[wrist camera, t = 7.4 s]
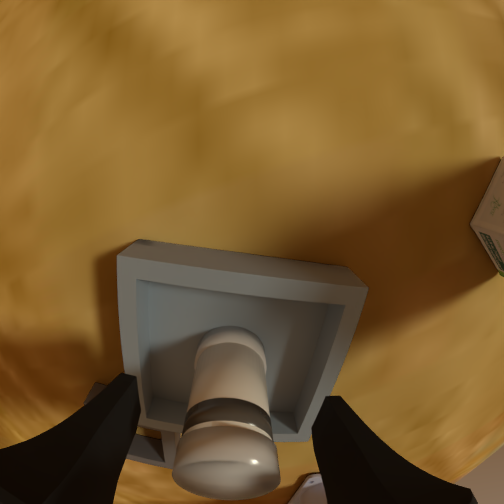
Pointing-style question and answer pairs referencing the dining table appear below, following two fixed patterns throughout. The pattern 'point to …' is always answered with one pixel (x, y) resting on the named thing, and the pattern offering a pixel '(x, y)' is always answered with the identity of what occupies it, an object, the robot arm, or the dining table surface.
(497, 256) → the syrup box
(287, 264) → the parts tray
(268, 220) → the dining table surface
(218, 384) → the cylinder
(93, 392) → the fuse socket
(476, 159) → the dining table surface
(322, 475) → the robot arm
